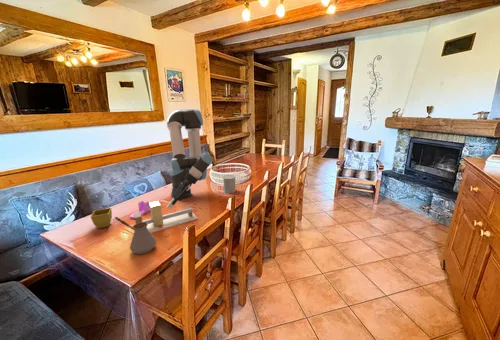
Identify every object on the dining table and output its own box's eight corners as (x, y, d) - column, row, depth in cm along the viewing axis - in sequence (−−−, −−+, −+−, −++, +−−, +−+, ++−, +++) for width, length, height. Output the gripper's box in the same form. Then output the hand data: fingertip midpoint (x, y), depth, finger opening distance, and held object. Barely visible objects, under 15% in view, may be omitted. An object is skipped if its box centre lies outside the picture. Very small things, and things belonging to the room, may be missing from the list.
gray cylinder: (233, 193, 171) (233, 179, 167) (222, 193, 173) (221, 178, 169) (237, 189, 180) (236, 175, 176) (226, 189, 182) (225, 175, 178)
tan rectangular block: (152, 222, 127) (148, 202, 123) (160, 219, 129) (158, 200, 126) (154, 227, 121) (151, 207, 118) (163, 224, 124) (160, 204, 120)
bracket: (143, 209, 148) (142, 200, 146) (150, 210, 146) (148, 200, 144) (128, 218, 136) (126, 208, 134) (135, 219, 134) (133, 209, 132)
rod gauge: (135, 227, 124) (132, 212, 122) (191, 212, 141) (190, 198, 139) (137, 236, 115) (134, 219, 113) (197, 219, 132) (195, 204, 130)
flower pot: (97, 223, 130) (94, 210, 127) (114, 220, 133) (111, 207, 131) (93, 231, 122) (90, 216, 120) (111, 227, 125) (108, 213, 123)
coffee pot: (162, 244, 108) (158, 217, 104) (144, 259, 98) (139, 229, 94) (129, 237, 115) (124, 211, 111) (109, 250, 105) (103, 222, 101)
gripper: (201, 181, 127) (176, 215, 123) (194, 176, 137) (171, 207, 134) (192, 174, 122) (165, 209, 119) (185, 169, 133) (160, 201, 130)
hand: (168, 208), depth 126 cm, fingers closed
